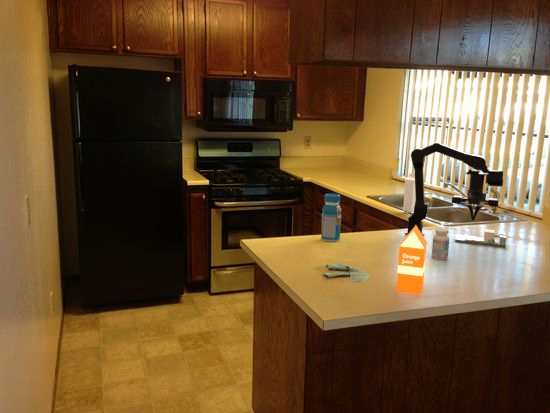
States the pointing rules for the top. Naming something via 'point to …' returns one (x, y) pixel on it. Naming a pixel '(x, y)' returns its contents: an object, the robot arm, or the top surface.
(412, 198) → the milk
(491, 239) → the white square block
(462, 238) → the gauge base
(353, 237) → the top surface
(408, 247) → the orange juice
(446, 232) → the pill bottle
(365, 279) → the cloth
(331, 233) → the beverage bottle
